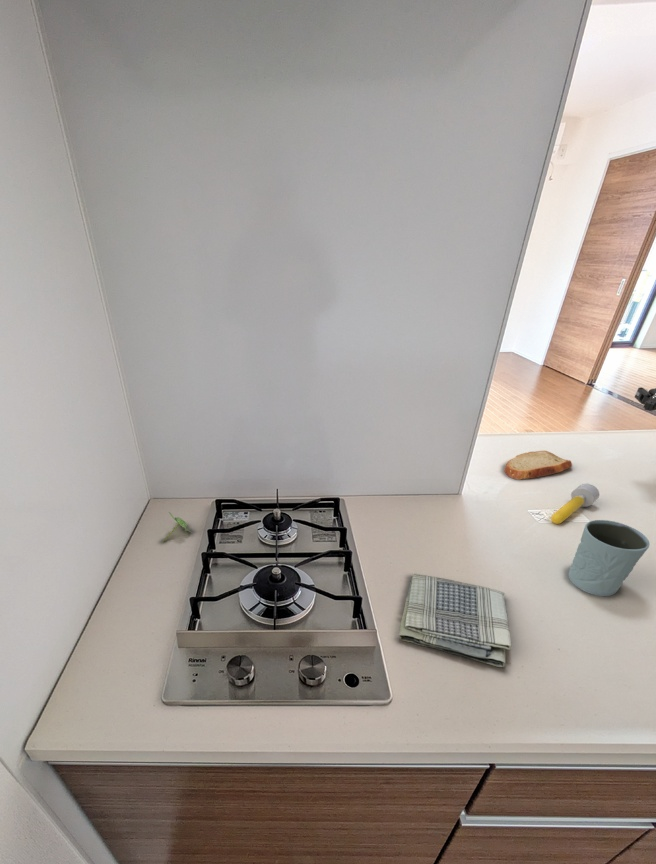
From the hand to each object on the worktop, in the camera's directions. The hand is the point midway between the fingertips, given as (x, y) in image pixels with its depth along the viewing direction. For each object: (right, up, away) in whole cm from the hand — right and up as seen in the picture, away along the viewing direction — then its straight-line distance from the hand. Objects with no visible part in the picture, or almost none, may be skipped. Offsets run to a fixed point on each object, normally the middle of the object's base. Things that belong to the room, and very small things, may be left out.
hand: (649, 406), depth 106 cm
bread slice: (-13, -13, +23) cm, 30 cm away
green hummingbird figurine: (-115, -31, 0) cm, 119 cm away
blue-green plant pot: (-27, -40, -17) cm, 51 cm away
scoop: (-11, -21, +6) cm, 24 cm away
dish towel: (-58, -46, -25) cm, 78 cm away
